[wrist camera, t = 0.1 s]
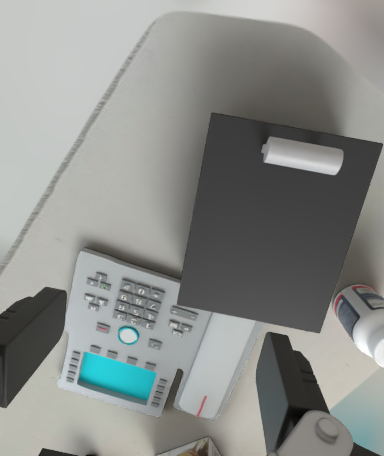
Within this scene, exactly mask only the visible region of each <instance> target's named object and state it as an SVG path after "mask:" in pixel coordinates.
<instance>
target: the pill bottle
mask: <svg viewBox="0 0 384 456" xmlns="http://www.w3.org/2000/svg"><path fill="white" fill-rule="evenodd" d="M333 308H334V313H335V315H336V317H337V318H338V320H339V321H340V323H341V324H342V325H343V327H344V328H345V330H346V331H347V333H348V334H349V336H350V337H351V339H352V340H353V342H354V343H355V345H356V346H357V347H358V348H359V349H360V350H361V351H362V352H363V353H365V354H366V355H368V356H371V357H373V358H374V359H375V361H376V362H377V363H378V364H379V365H380V366H381V367H383V368H384V298H383V297H382V296H380V295H379V294H378V293H377V292H376V291H375V290H374V289H373V288H371V287H369V286H366V285H361V284H357V285H352V286H349V287H346V288H345V289H343V290H342V291H341V292H340V293H339V294H338V295H337V296H336V298H335V300H334V305H333Z"/></svg>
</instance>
